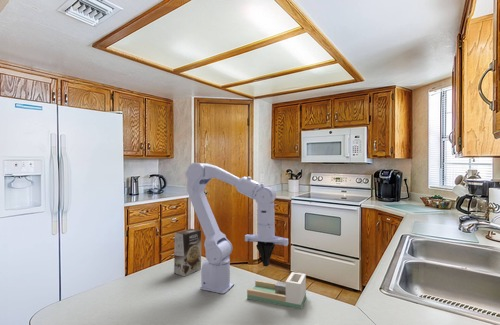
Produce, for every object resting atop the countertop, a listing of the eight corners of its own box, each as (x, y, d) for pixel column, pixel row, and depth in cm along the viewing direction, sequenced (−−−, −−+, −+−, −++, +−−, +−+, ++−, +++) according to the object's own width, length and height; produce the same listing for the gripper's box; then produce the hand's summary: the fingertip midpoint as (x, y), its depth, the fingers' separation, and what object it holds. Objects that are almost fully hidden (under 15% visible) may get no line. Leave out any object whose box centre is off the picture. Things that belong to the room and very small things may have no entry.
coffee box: (185, 276, 100) (185, 234, 100) (173, 273, 103) (173, 232, 104) (201, 269, 107) (201, 229, 108) (190, 266, 111) (190, 227, 111)
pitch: (247, 298, 83) (247, 275, 83) (256, 287, 90) (256, 266, 90) (300, 309, 76) (300, 284, 76) (305, 296, 84) (305, 274, 84)
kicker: (275, 294, 82) (275, 285, 82) (278, 290, 85) (277, 281, 85) (287, 297, 80) (287, 287, 80) (290, 292, 83) (290, 283, 83)
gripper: (290, 222, 87) (291, 264, 86) (250, 219, 93) (250, 258, 92) (284, 227, 80) (285, 271, 80) (242, 223, 86) (242, 265, 86)
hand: (266, 265), depth 86 cm, fingers closed
